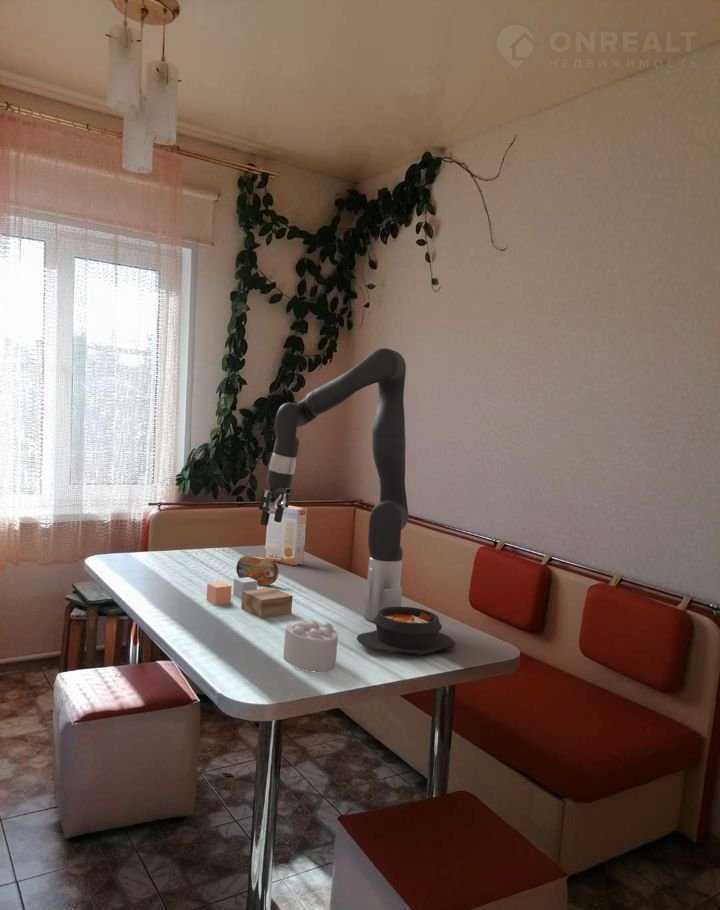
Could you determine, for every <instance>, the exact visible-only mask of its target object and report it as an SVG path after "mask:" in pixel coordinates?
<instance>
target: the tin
mask: <svg viewBox="0 0 720 910" xmlns="http://www.w3.org/2000/svg"><path fill="white" fill-rule="evenodd" d="M235 571H236V574H237V576H238V578H245V577H249V578H252V579H254V580H256V581H257V586H258V585H259V586H265V587H266V586H270V585H272V584H274V583H275V582H276V581H277V580H278V577H279V568H278V564H277V562H274V561H273V560H270V559H265V557H258V556H254V555H244V556H242V557H241V558H239V560H238V561H237V563H236V569H235Z"/></svg>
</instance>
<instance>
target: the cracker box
mask: <svg viewBox="0 0 720 910" xmlns="http://www.w3.org/2000/svg"><path fill="white" fill-rule="evenodd" d="M269 507H270V506H269ZM268 509H269V508H268ZM276 509H278V508H277V507H276V506H275V507H274V508H272V510H271V512H270V517H269V521H268V525H266V531H265V533H266V535H265V549H264V550H265V551H264V558H265V559H270V560H273V561H277V562H276V563H278V562H281V563H280V564H283V563H285V564H284V565H287V564H290V565H289V566H292V565H296V566H298V565H297V564H300V563H303V564H304V559H305V558H304V554H305V545H306V544H305V543H306V528H307V527H306V526H307V518H308V517H307V514H308V508H305V507H300V506H295V505H289V506H288V508H285V510H283V516H282V521H281V522H276V521H274V517H275V512H276Z"/></svg>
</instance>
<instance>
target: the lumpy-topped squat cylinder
mask: <svg viewBox="0 0 720 910" xmlns="http://www.w3.org/2000/svg"><path fill="white" fill-rule="evenodd" d="M284 630H285V631H284V643H283V656H282V659H283V660H284V661H285V662H286V663H287V662H288V663H287V664H289V663H290V664H291V665H290V664H289V665H290V666H292V665H293V666H295V667H297V668H300V669H299V670H301V669H304V670H303V671H305V670H308V671H307V672H309V671H315V672H314V673H317V672H325V673H330V672H332V671H334V670H335V669H336V667H337V666H336V664H337V651H338V650H337V649H338V639H339V637H338V635H339V634H338V632H337V631H336V630H334V626H333V625H332V623H330V622H323V623H320V622H317V620H313V619H309V620H308V619H307V620H301V621H299V620H298V621H295V622H293V623H292V624H288V625H286V626H285V628H284ZM293 666H292V667H293ZM295 667H294V668H295ZM297 668H296V669H297ZM334 668H335V669H334ZM333 669H334V670H333ZM331 670H332V671H331ZM329 671H330V672H329Z"/></svg>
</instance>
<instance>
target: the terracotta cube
mask: <svg viewBox="0 0 720 910" xmlns="http://www.w3.org/2000/svg"><path fill="white" fill-rule="evenodd" d="M206 586H207V587H206V600H208V601H210V602H212V603H214V604H218V605H224V604H231V602H232V601H231V600H232V591H233V590H232V589H233V587H232V585H231V584H228V583H227V582H224V581H220V582H219V581H218V582H211V583H210V582H209V583H207V585H206ZM208 601H207V602H208ZM210 602H209V603H210ZM212 603H211V604H212ZM214 604H213V605H214Z"/></svg>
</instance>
